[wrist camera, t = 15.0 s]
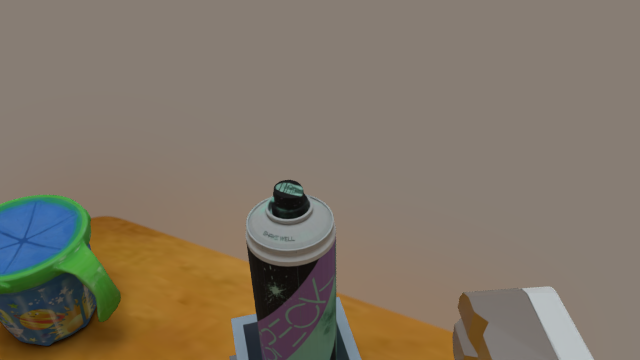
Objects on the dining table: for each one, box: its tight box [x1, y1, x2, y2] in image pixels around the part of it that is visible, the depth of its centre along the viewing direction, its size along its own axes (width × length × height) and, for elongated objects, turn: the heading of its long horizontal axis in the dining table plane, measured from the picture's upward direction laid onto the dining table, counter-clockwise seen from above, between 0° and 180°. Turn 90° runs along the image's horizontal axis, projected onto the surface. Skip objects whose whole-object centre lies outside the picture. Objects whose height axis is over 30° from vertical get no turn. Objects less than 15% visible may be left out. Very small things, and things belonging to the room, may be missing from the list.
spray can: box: [246, 180, 337, 360], centre depth 37 cm, size 6×6×20 cm
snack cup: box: [0, 195, 121, 346], centre depth 48 cm, size 16×11×10 cm
